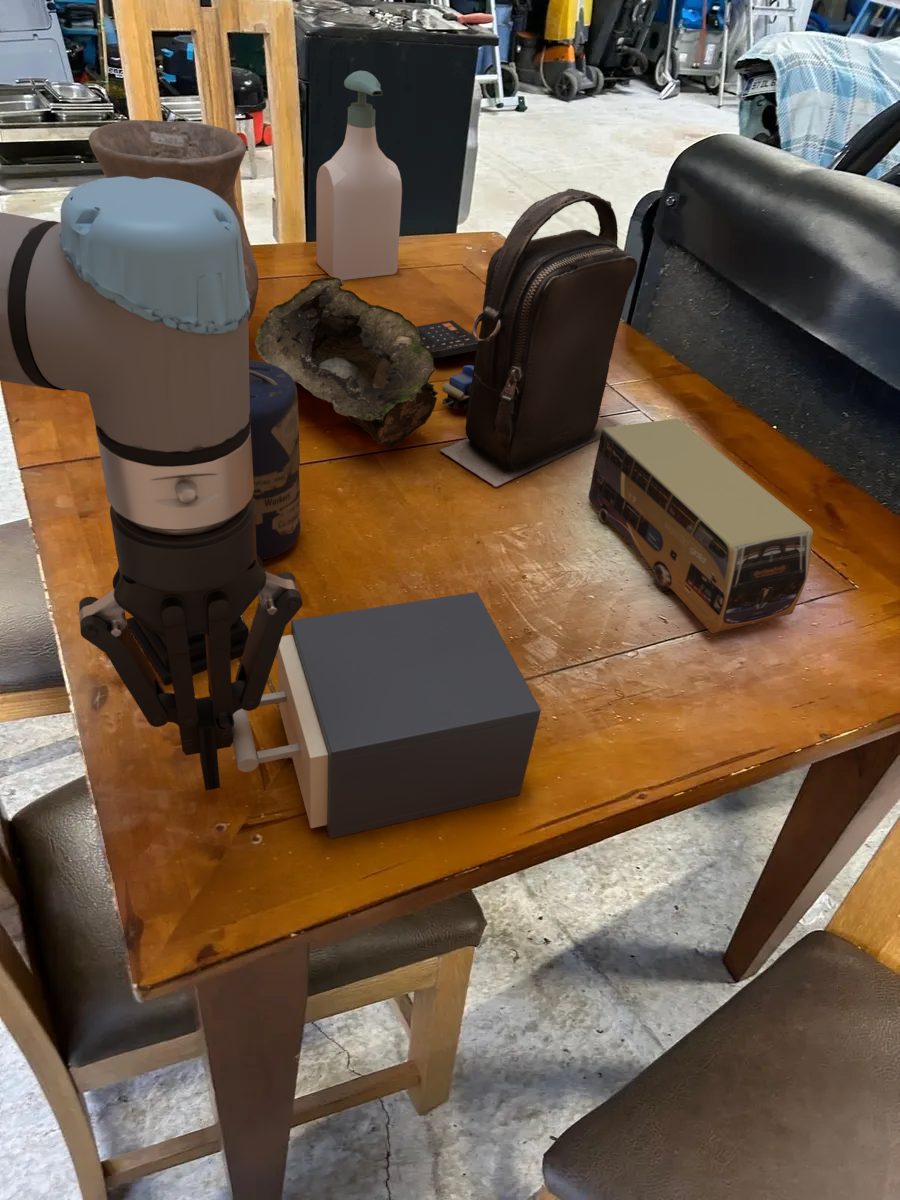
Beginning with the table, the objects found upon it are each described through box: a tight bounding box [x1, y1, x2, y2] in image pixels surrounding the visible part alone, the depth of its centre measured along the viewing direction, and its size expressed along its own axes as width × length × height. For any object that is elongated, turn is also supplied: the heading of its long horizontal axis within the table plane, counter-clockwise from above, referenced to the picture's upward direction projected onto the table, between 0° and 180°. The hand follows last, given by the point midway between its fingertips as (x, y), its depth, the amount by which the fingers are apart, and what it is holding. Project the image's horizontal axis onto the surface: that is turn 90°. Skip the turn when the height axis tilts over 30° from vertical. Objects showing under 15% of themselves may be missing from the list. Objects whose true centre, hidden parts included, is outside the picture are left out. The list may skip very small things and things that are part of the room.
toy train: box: [441, 364, 474, 415], centre depth 113 cm, size 4×22×5 cm, turn 136°
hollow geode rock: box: [255, 276, 439, 448], centre depth 103 cm, size 28×13×15 cm
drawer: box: [232, 634, 328, 829], centre depth 64 cm, size 18×11×8 cm, turn 109°
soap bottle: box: [315, 70, 403, 281], centre depth 130 cm, size 11×8×27 cm
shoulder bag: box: [439, 188, 638, 488], centre depth 96 cm, size 23×9×28 cm, turn 134°
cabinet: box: [290, 591, 542, 840], centre depth 65 cm, size 15×13×10 cm
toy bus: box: [588, 418, 814, 634], centre depth 87 cm, size 10×23×10 cm, turn 22°
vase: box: [88, 119, 259, 323], centre depth 106 cm, size 20×19×25 cm
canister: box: [249, 359, 302, 561], centre depth 80 cm, size 10×10×18 cm
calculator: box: [416, 319, 478, 359], centre depth 121 cm, size 9×12×3 cm
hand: (210, 774), depth 63 cm, fingers closed
